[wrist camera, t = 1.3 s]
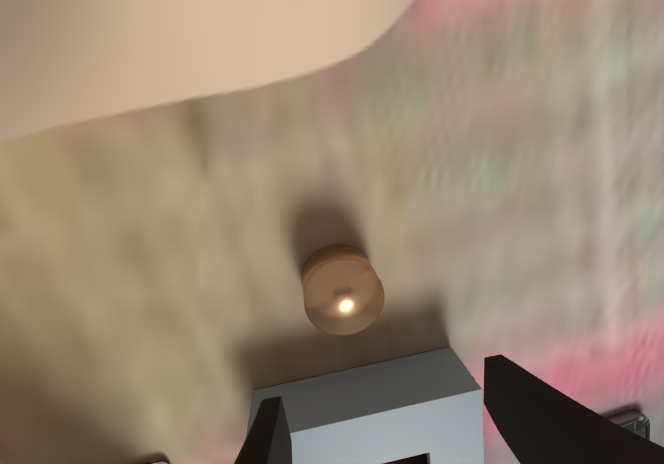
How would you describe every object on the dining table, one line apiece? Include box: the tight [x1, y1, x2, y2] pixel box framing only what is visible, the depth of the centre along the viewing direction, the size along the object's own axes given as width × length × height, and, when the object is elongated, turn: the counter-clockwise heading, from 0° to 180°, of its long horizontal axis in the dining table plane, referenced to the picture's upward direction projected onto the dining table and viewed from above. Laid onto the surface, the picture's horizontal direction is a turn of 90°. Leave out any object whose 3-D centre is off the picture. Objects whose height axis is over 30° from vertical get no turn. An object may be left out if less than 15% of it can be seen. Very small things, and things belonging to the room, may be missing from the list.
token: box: [303, 244, 384, 335], centre depth 19 cm, size 4×4×3 cm
